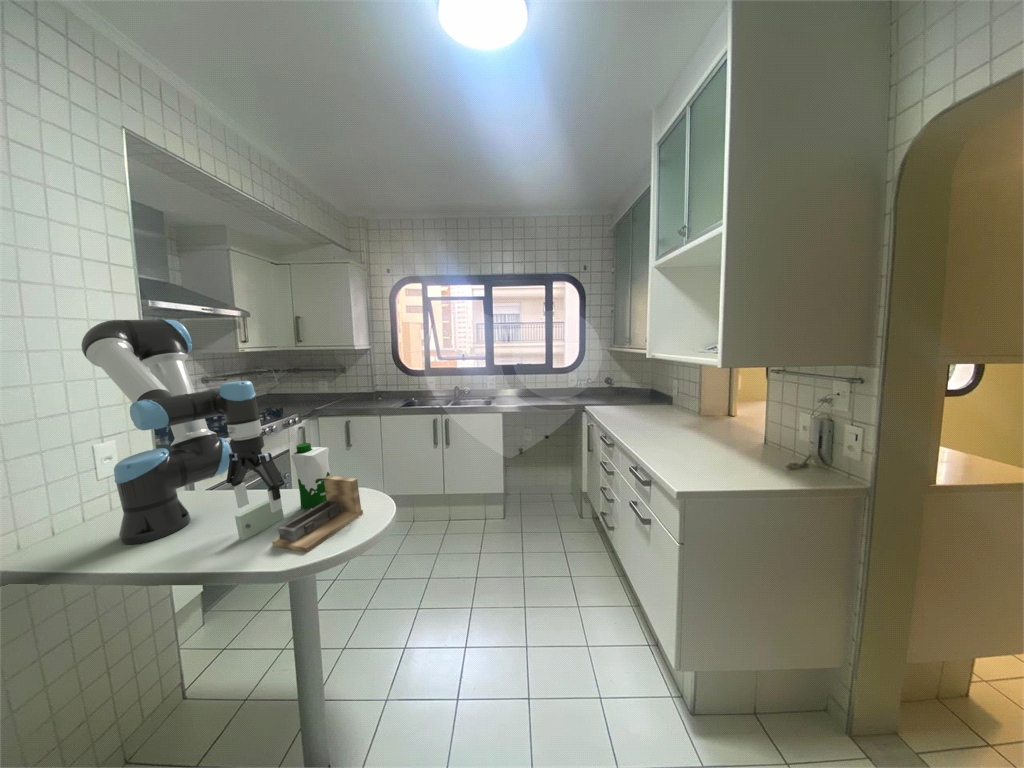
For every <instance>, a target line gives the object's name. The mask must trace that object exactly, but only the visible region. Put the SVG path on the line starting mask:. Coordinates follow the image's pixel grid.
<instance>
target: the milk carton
mask: <svg viewBox="0 0 1024 768" xmlns="http://www.w3.org/2000/svg"><path fill="white" fill-rule="evenodd" d="M329 451H330V450H329V447H322V446H316V447H315V446H313V447H312V444H311V443H310V442H304V443H299V444H297V445H296V452H294V453H292V454H290V457H291V459H292V461H293V464H294V467H295V470H296V471H295V473H296V478H297V483H298V484H297V485H298V489H299V491H298V492H299V499H300V508H301V509H309V510H311V509H313V508H314V507H316V506H318V505H320V504H321V503H323V502H325V501H327V498H326V491H325V485H324V478H325V477H327V476H331V474H330V467H329Z"/></svg>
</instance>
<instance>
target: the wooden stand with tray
mask: <svg viewBox="0 0 1024 768" xmlns="http://www.w3.org/2000/svg"><path fill="white" fill-rule="evenodd" d="M324 485H325V491H326V498H327V501H325V502H323V503H321V504H320V505H318V506H316V507H314V508H313V509H309V510H307V511H306V512H304V513H302V514H300V515H299V516H297V517H295V518H293V519H292V520H290V521H288V522H287V523H284V524H283V525H281V526H280V527H277V531H278V537H277V538H276V539H274V540H272V542H271V543H272V546H274V547H279V548H283V549H288V550H294V551H298V552H303V553H308V552H310V551H311V550H313V549H314V548H315V547H317V546H319V545H320V544H321V543H323V542H324V541H326V540H327V539H329V538H331V536H333V535H335V534H336V533H338V532H339V531H340V530H341V529H344V528H345V527H346V526H348V525H349V524H350V523H352V522H353V521H355V520H356V519H358V518H359V517H361V516H362V515H364V509H362V505H361V498H360V491H359V490H360V489H359V483H358V478H355V477H345V476H336V475H335V476H334V475H330V476H327V477H325V478H324Z"/></svg>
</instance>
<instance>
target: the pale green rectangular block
mask: <svg viewBox="0 0 1024 768" xmlns="http://www.w3.org/2000/svg"><path fill="white" fill-rule="evenodd" d="M280 499H281V498H280ZM281 500H282V499H281ZM283 510H284V509H283V507H282V508H281V509H279V510H277V511H275V512H274V513H272V512H271V508H270V502H269V499H266V500H265V501H262V502H261V503H258V504H256V505H254V506H252V507H251V508H248V509H246V510H244V511H242V512H239V513H238V514H236V515H234V517H235V518H234V519H235V524H236V529H237V534H238V539H239V540H242V541H245V540H247V539H249V538H250V537H252V536H254V535H257V534H258V533H260V532H262V531H263V530H265V529H267V528H269V527H270V526H272V525H274V524H276V523H278V522H280V521H281V520H283V519H284V518H285V517H284V511H283Z"/></svg>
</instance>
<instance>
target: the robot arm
mask: <svg viewBox="0 0 1024 768" xmlns="http://www.w3.org/2000/svg"><path fill="white" fill-rule="evenodd" d="M192 349H193V344H192V338H191V334H190V333H189V331H188V330H187V328H186V327H185V326H184V324H182V323H180V322H179V321H178V320H175V319H164V318H155V319H111V320H106V321H102V322H100V323H98V324H95V326H93V327H91V328H90V329H89V330H88V331H87V332H86V333H85V334H84V335H83V338H82V340H81V351H82V353H83V355H84V357H85V358H86V359H87V360H88V361H89V362H90V363H91V364H92V365H94V366H96V367H98V368H101V369H102V370H103V372H104V373H106V375H107V376H108V377H109V378H110V379H111V381H112V382H114V384H115V385H116V386H117V387H118V388H119V389H120V390H121V392H122V393H123V394H124V396H126V397H127V398H128V400H129V401H130V402H131V403H132V404H131V405H130V407H129V415H130V419H131V421H132V423H133V425H134V427H135V428H136V429H138V430H141V431H150V430H155V429H156V430H157V429H164V428H166V427H170V429H171V432H172V434H173V437H174V439H173V441H172V443H171V444H170V449H171V450H168V449H167V448H163V447H160V448H154V449H151V450H150V449H149V450H145V451H141V452H138V453H136V454H132V455H130V456H127V457H126V458H123V459H122V460H120V461H118V462H117V463H116V464H115V465H114V468H113V472H114V473H113V476H114V483H115V485H116V489H117V492H118V493H117V494H118V497H119V500H120V504H121V507H122V512H123V514H122V520H121V525H120V529H119V539H120V543H122V544H123V545H138V544H143V543H147V542H151V541H155V540H158V539H161V538H165V537H166V536H169V535H172V534H173V533H175V532H178V531H180V530H182V529H183V528H185V527H186V526H187V525H188V524H190V522H191V517H190V513H189V511H188V509H187V508H186V507H185V506H184V504H183V503H182V501H181V500H180V499H179V497H178V493H177V492H178V491H177V489H180V488H182V487H186V486H189V485H192V484H195V483H198V482H201V481H204V480H207V479H211V478H214V477H216V476H219V475H221V474H223V473H226V472H227V475H226V480H225V481H226V483H227V484H230V486H231V487H233V490H234V494H235V495H234V496H235V500H236V506H237V508H238V509H240V508H243V507H246V506H247V505H249V504H250V502H249V498H248V491H247V486H246V482H245V480H244V479H245V477H246V475H247V472H248V470H251V471H253V472H254V473H256V474H257V475H258V476H259V477H260V479H261V480H262V481H263V482H264V484H265V485H266V487H268V489H267V497H268V500H269V502H270V508H271V512H272V513H274V512H275V511H277V510H279V509H281V508H282V509H283V504H282V499H280V498H281V497H282V496H281V490H280V487H282V486H283V485H285V484H286V483H285V481H284V479H283V477H282V475H281V472H280V471H279V470H278V467H277V465H276V463H275V462H274V460H273V457H272V453H271V452H266V453H263V451H262V449H263V448H264V447H265V442H264V436H263V434H262V433H263V429H262V424H261V418H260V414H259V410H258V401H257V397H256V396H257V395H256V394H257V393H256V391H255V388H254V385H253V382H252V381H250V380H237V381H230V382H223V383H221V384H220V385H219V388H218V387H217V388H210V389H206V390H203V391H195V388H194V385H193V382H192V380H191V376H190V374H189V372H188V369H187V366H186V364H185V363H186V360H187V359H188V358H189V354H190V352H192ZM218 416H224V419H225V424H226V428H227V430H226V431H227V433H228V438H229V439H230V441H229V442H228V441H227V439H226V438H225V437H218V435H217V432H215V431H212V430H210V429H209V427H208V425H207V420H206V419H209V418H214V417H218Z"/></svg>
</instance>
